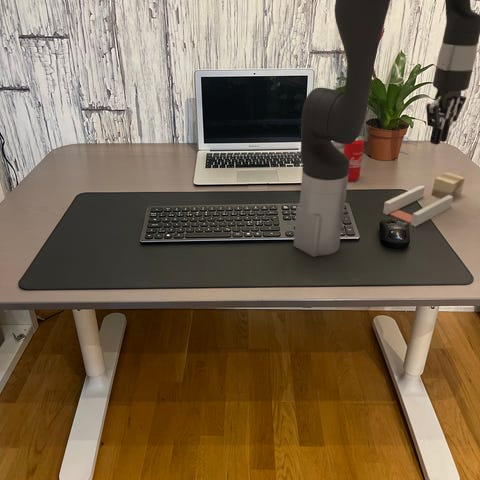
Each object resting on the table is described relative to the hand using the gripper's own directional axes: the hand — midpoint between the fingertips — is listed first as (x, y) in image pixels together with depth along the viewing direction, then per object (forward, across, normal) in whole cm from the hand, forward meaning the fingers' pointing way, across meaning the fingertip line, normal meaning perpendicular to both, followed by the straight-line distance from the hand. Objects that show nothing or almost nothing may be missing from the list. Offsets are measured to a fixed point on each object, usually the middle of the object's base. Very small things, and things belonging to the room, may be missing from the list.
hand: (438, 141), depth 116 cm
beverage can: (+17, 0, -24) cm, 29 cm away
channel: (+17, +3, 0) cm, 17 cm away
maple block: (+17, -11, 0) cm, 20 cm away
